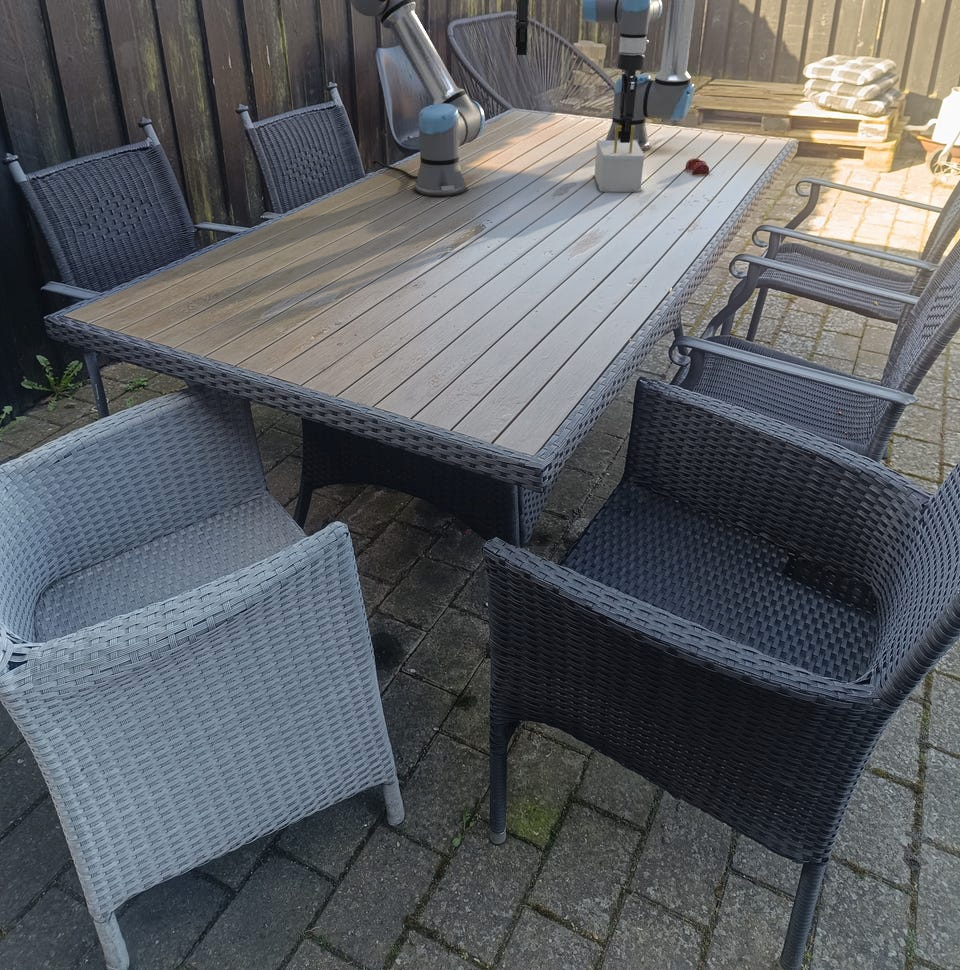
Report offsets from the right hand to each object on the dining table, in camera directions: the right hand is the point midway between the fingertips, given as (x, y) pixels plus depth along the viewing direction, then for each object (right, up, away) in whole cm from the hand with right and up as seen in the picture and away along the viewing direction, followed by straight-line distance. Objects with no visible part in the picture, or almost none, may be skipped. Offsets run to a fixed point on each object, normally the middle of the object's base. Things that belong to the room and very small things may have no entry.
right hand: (623, 140), depth 251 cm
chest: (0, -8, +13) cm, 15 cm away
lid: (0, -1, +7) cm, 7 cm away
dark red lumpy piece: (+28, -1, +23) cm, 36 cm away
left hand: (-31, +20, -12) cm, 39 cm away
